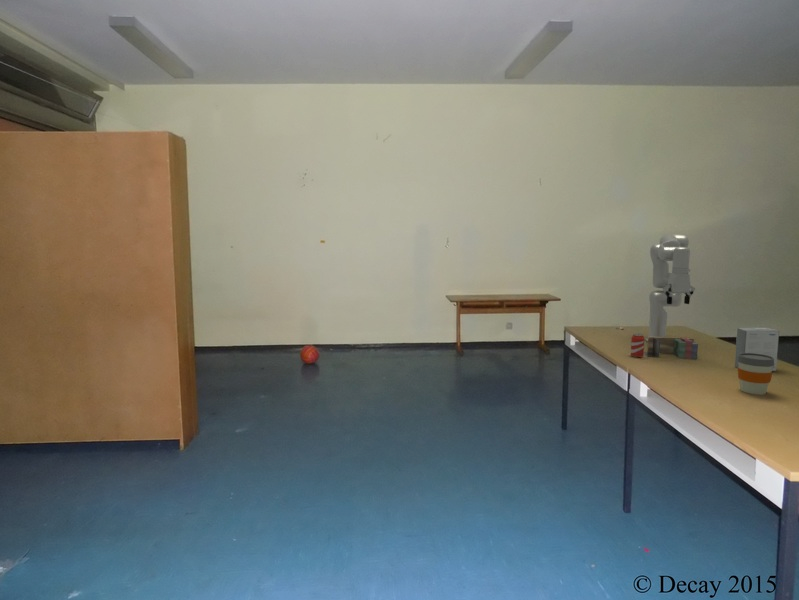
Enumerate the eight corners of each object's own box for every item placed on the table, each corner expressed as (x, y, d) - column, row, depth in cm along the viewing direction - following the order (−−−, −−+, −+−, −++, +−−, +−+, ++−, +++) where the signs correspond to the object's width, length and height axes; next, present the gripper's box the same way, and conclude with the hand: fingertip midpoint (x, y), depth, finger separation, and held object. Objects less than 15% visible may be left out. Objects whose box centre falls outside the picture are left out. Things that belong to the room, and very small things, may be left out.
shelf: (646, 352, 282) (648, 335, 281) (691, 354, 277) (693, 337, 276) (652, 356, 271) (653, 339, 270) (699, 359, 267) (700, 341, 265)
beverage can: (629, 354, 276) (630, 333, 274) (641, 355, 275) (642, 333, 273) (632, 357, 270) (633, 335, 268) (644, 358, 269) (646, 336, 267)
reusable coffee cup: (756, 386, 218) (759, 352, 216) (779, 395, 205) (782, 359, 204) (728, 386, 217) (731, 353, 216) (749, 396, 205) (752, 360, 203)
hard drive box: (766, 367, 250) (770, 327, 247) (776, 371, 242) (780, 330, 240) (733, 366, 251) (737, 327, 249) (742, 370, 244) (745, 330, 241)
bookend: (642, 352, 281) (643, 337, 279) (653, 353, 279) (654, 337, 278) (647, 357, 271) (648, 340, 270) (659, 357, 270) (660, 341, 269)
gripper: (690, 270, 266) (688, 302, 268) (660, 270, 265) (658, 303, 267) (700, 271, 259) (698, 304, 261) (669, 271, 257) (667, 305, 259)
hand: (678, 303), depth 264 cm, fingers open, 9 cm apart
